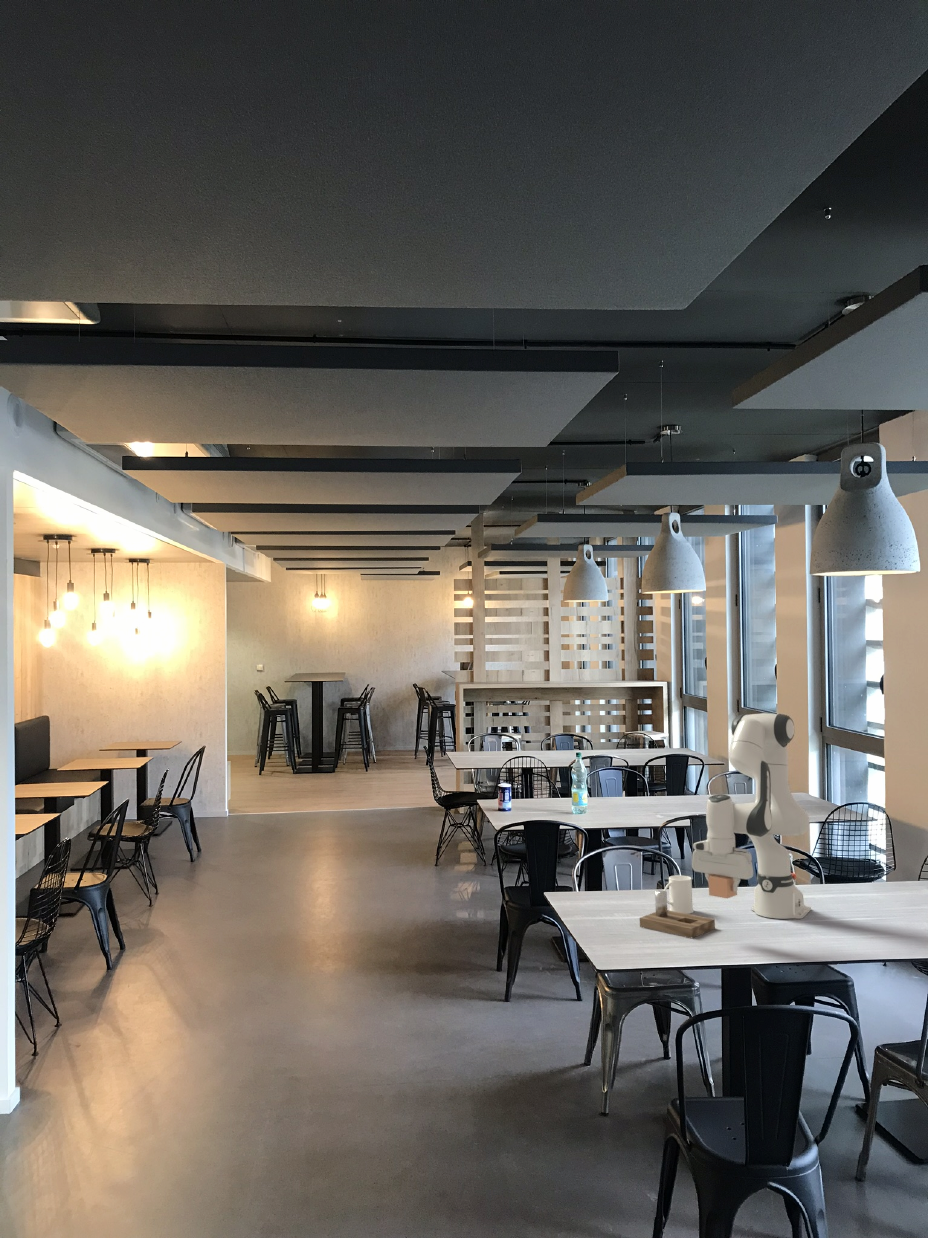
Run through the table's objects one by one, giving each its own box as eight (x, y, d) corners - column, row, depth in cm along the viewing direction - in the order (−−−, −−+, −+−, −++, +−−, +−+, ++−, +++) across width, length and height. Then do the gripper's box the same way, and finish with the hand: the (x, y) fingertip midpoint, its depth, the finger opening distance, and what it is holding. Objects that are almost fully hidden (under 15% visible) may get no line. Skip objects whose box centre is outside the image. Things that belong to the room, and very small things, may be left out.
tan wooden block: (719, 892, 281) (718, 873, 281) (737, 895, 276) (736, 876, 277) (709, 895, 276) (708, 876, 277) (727, 898, 272) (726, 879, 272)
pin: (659, 913, 297) (659, 890, 298) (669, 915, 295) (669, 891, 295) (653, 915, 295) (652, 892, 295) (663, 917, 292) (662, 893, 292)
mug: (670, 916, 305) (668, 882, 306) (657, 910, 313) (655, 877, 314) (698, 913, 308) (696, 879, 309) (684, 907, 316) (683, 874, 317)
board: (664, 918, 302) (663, 909, 303) (715, 928, 288) (714, 919, 288) (639, 926, 292) (639, 917, 292) (691, 938, 278) (691, 928, 278)
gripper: (755, 848, 272) (757, 892, 271) (698, 841, 287) (700, 883, 286) (746, 851, 268) (748, 896, 267) (688, 843, 283) (690, 886, 281)
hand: (722, 889), depth 276 cm, fingers closed on tan wooden block, 6 cm apart
